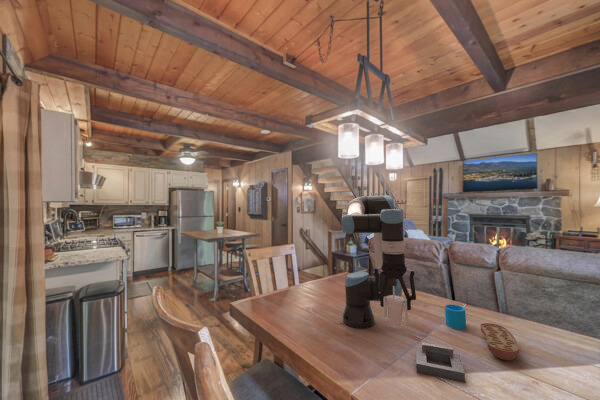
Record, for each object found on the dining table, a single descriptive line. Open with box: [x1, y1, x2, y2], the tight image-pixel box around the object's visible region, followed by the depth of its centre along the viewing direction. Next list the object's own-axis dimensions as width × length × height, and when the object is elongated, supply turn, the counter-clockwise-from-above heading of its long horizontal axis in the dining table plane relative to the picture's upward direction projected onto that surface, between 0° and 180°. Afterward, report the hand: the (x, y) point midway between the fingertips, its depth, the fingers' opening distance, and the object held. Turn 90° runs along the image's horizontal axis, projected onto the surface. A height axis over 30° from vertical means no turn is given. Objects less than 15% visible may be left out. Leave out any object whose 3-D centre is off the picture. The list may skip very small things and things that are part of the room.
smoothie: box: [386, 286, 406, 329], centre depth 91 cm, size 6×6×14 cm
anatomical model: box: [480, 322, 520, 361], centre depth 99 cm, size 23×10×5 cm, turn 153°
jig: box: [415, 342, 466, 384], centre depth 89 cm, size 14×11×5 cm
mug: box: [444, 304, 467, 330], centre depth 121 cm, size 12×8×8 cm
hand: (395, 317), depth 91 cm, fingers closed on smoothie, 6 cm apart
